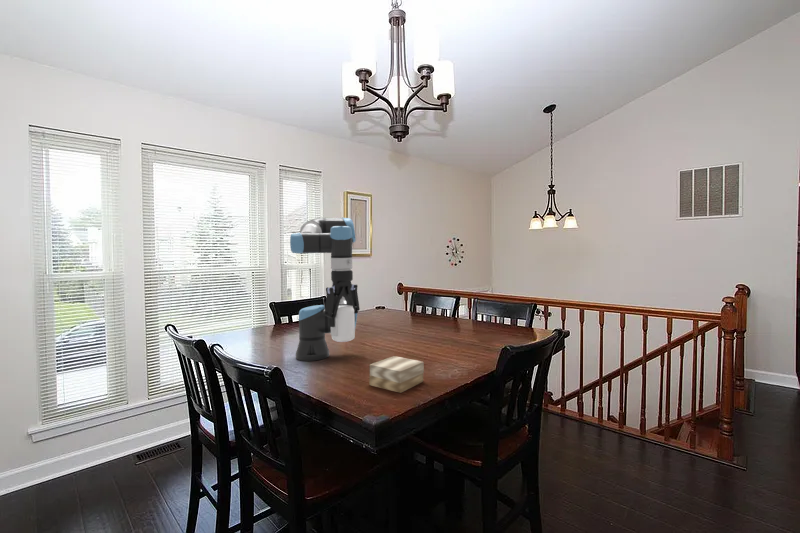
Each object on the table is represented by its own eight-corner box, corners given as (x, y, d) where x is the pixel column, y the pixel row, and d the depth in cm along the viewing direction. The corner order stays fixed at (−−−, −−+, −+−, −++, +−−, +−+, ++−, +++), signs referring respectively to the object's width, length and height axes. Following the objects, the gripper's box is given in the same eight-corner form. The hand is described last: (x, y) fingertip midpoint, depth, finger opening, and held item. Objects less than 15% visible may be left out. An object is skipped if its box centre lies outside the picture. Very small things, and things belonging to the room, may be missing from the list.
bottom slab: (369, 386, 139) (369, 375, 139) (392, 376, 151) (392, 366, 151) (401, 394, 131) (400, 382, 131) (423, 382, 143) (423, 372, 142)
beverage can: (332, 337, 142) (332, 305, 141) (355, 336, 143) (354, 304, 142) (330, 343, 134) (330, 308, 133) (354, 342, 135) (353, 308, 134)
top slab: (369, 375, 140) (369, 364, 139) (394, 366, 151) (394, 355, 150) (400, 383, 131) (399, 371, 131) (423, 372, 142) (423, 361, 142)
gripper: (327, 272, 126) (329, 340, 127) (369, 268, 143) (370, 329, 144) (312, 271, 131) (313, 337, 132) (353, 268, 148) (355, 327, 149)
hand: (343, 333), depth 138 cm, fingers closed on beverage can, 8 cm apart
